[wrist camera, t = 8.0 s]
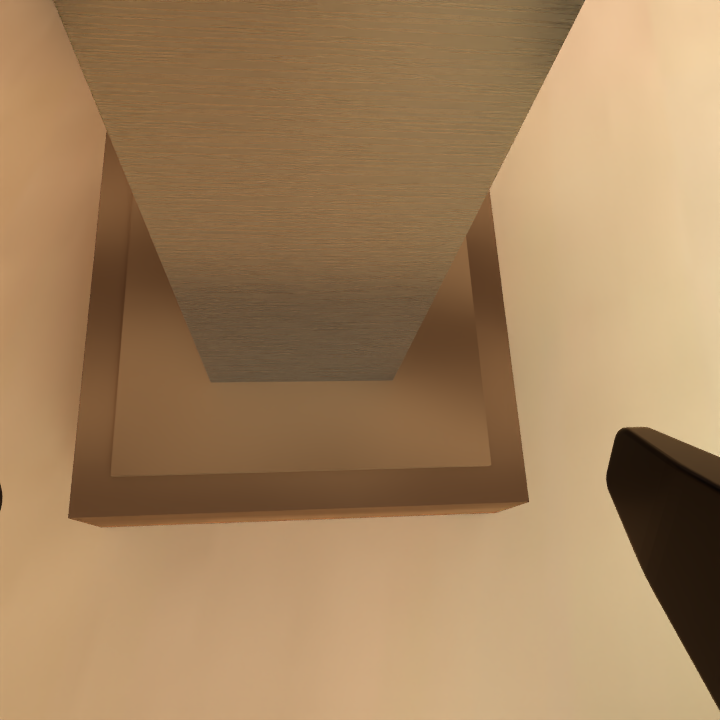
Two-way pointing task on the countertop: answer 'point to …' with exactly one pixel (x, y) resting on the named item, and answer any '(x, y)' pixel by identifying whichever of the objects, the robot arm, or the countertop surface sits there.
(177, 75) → the housing
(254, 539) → the countertop surface
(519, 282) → the countertop surface
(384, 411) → the stand
